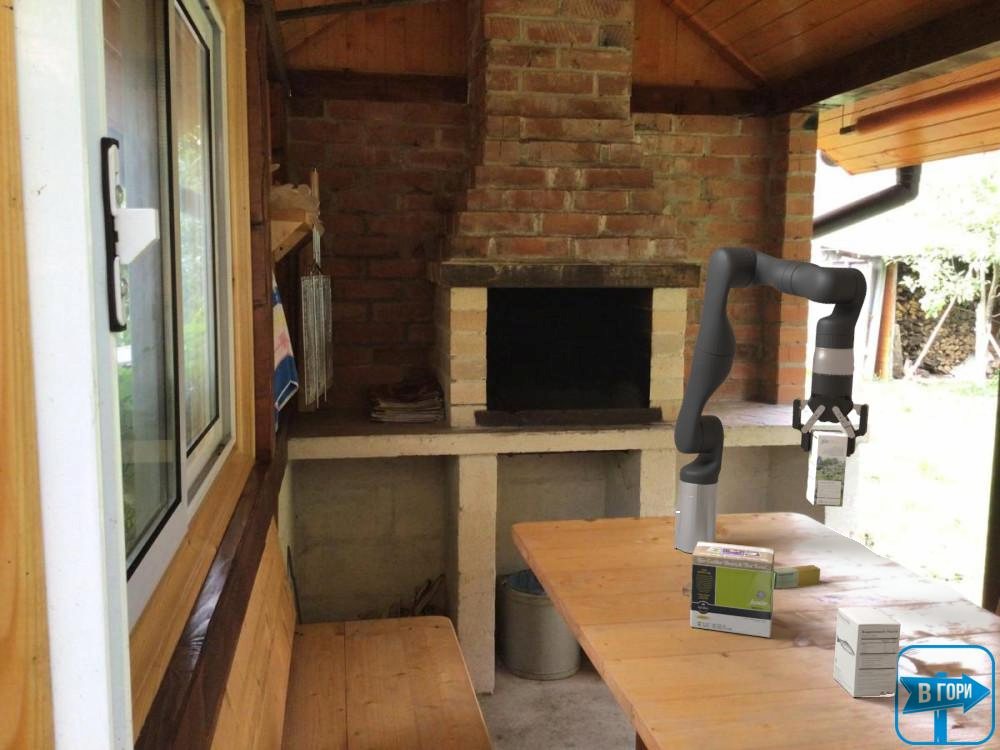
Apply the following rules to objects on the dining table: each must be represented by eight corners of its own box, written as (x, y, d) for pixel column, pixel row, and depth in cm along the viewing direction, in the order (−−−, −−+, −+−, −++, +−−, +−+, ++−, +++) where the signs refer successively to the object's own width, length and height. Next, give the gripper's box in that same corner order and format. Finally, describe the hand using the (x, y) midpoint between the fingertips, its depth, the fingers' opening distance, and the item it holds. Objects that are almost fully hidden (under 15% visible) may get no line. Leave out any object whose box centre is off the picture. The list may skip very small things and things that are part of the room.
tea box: (772, 620, 173) (776, 547, 171) (770, 640, 164) (774, 563, 162) (694, 609, 178) (697, 538, 176) (688, 628, 169) (691, 553, 167)
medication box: (773, 590, 190) (774, 572, 189) (766, 586, 192) (767, 568, 192) (819, 585, 194) (821, 567, 193) (811, 580, 196) (813, 563, 196)
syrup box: (834, 499, 177) (839, 428, 175) (843, 507, 171) (848, 434, 169) (805, 498, 177) (809, 427, 176) (813, 506, 172) (817, 433, 170)
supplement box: (831, 678, 148) (836, 606, 147) (873, 677, 149) (878, 605, 148) (852, 699, 141) (857, 623, 140) (896, 698, 142) (902, 622, 140)
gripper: (790, 369, 171) (785, 452, 173) (869, 375, 164) (863, 461, 166) (798, 366, 178) (793, 446, 180) (874, 371, 171) (868, 454, 173)
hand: (827, 453), depth 173 cm, fingers closed on syrup box, 7 cm apart
